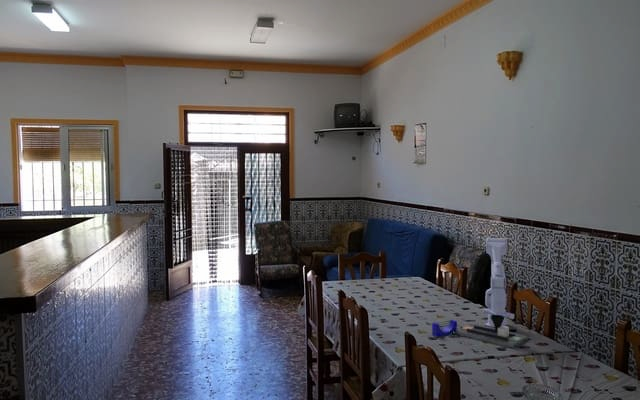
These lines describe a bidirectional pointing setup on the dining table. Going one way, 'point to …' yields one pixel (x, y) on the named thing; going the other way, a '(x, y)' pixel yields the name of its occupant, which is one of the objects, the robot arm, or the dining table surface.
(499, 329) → the switch handle
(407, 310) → the dining table surface
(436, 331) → the cable clip
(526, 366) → the dining table surface
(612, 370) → the dining table surface
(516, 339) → the breaker panel
